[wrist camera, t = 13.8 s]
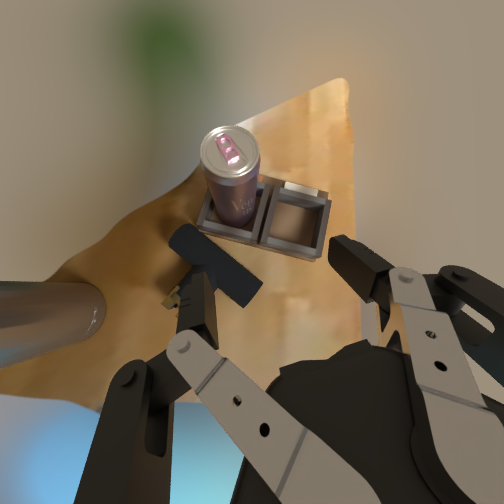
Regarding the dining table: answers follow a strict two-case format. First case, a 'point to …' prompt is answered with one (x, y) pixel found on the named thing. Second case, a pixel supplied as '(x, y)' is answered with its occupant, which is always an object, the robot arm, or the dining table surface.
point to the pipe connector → (210, 268)
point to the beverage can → (231, 172)
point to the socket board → (276, 219)
